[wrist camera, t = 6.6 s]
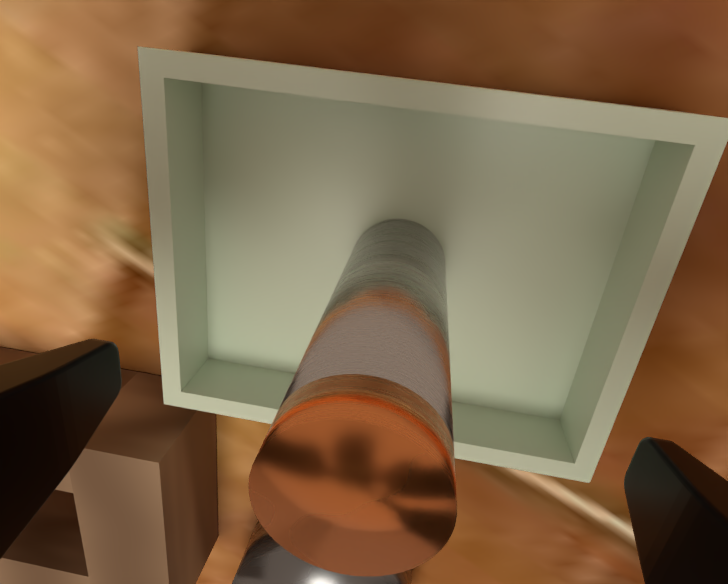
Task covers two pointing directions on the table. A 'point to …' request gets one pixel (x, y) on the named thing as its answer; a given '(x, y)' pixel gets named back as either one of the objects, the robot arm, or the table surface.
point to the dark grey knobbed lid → (294, 567)
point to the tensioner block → (127, 498)
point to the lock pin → (368, 418)
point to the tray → (435, 212)
